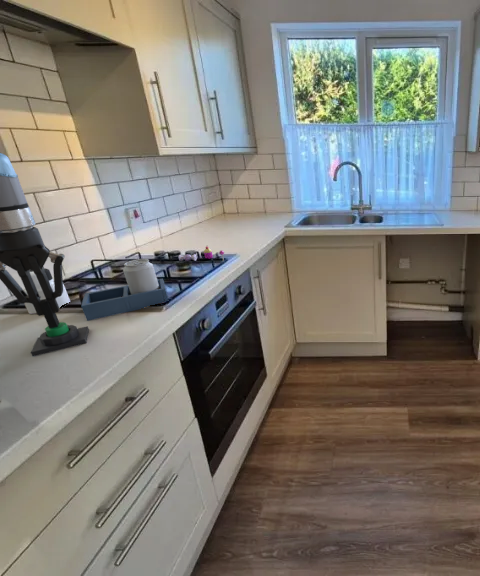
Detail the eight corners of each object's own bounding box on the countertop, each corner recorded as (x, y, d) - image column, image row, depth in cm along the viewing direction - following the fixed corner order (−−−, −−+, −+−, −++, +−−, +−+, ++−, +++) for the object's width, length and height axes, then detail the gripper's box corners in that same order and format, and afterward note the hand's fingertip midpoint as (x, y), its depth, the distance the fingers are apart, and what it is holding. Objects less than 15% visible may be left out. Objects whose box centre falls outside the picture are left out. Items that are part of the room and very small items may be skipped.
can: (141, 306, 105) (129, 267, 101) (128, 300, 109) (116, 263, 104) (166, 296, 111) (156, 259, 107) (153, 292, 115) (143, 256, 110)
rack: (87, 321, 99) (81, 306, 97) (90, 307, 107) (84, 293, 105) (169, 302, 109) (165, 288, 107) (166, 291, 117) (162, 278, 115)
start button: (46, 339, 85) (43, 331, 84) (49, 332, 88) (46, 325, 88) (68, 334, 87) (65, 327, 86) (70, 327, 90) (67, 320, 90)
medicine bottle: (45, 304, 110) (29, 267, 106) (71, 301, 111) (56, 265, 107) (28, 314, 104) (10, 275, 99) (56, 312, 105) (40, 273, 100)
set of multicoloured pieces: (177, 264, 142) (173, 249, 139) (185, 258, 149) (181, 244, 146) (225, 261, 144) (222, 246, 141) (230, 255, 151) (227, 241, 149)
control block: (32, 356, 83) (27, 345, 82) (39, 341, 89) (34, 331, 88) (86, 343, 88) (82, 332, 87) (89, 330, 94) (85, 319, 93)
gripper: (55, 222, 84) (89, 312, 93) (-23, 230, 77) (22, 326, 87) (50, 228, 78) (86, 324, 87) (-36, 237, 72) (14, 340, 81)
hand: (54, 325), depth 87 cm, fingers closed
